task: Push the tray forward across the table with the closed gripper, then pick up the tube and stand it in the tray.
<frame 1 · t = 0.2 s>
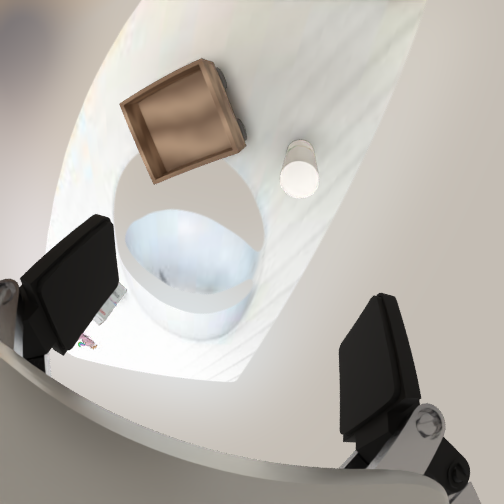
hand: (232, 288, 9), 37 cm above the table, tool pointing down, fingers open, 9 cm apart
rabbit figure: (82, 332, 86), on the table
ink box: (112, 282, 66), on the table
tube: (300, 152, 41), on the table
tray: (186, 120, 37), point 5 cm above the table, slide at 0.0 cm
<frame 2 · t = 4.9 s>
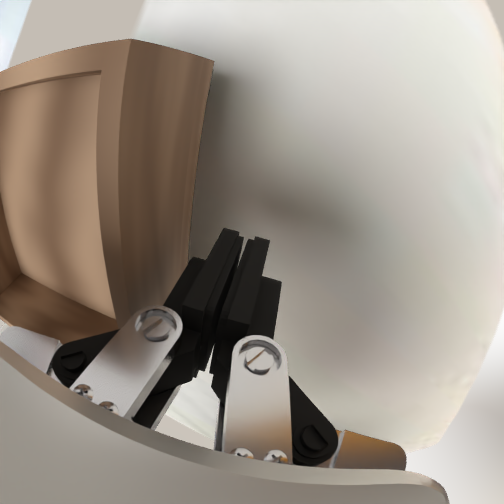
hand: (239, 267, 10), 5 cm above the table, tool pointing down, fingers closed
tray: (61, 208, 11), point 5 cm above the table, slide at 1.7 cm, touching gripper
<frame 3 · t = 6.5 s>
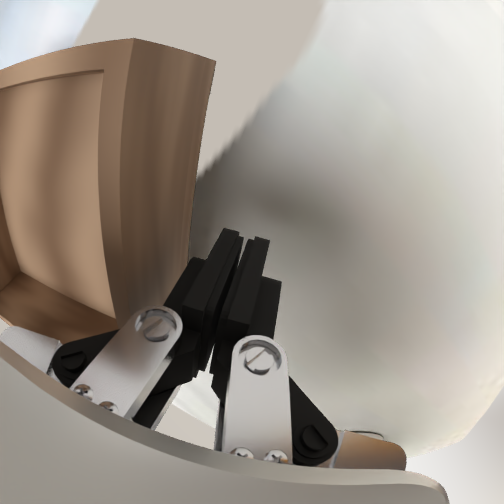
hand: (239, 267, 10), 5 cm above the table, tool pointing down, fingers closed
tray: (61, 206, 11), point 5 cm above the table, slide at 10.9 cm, touching gripper
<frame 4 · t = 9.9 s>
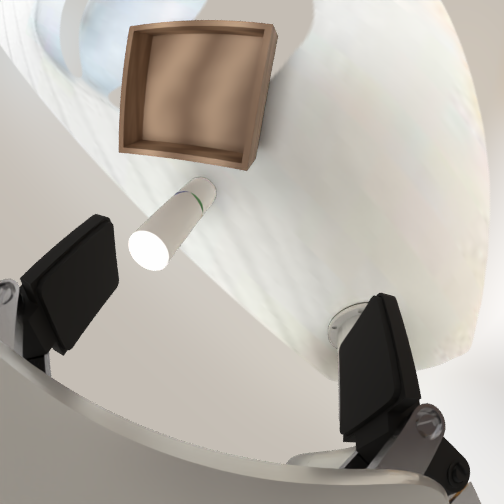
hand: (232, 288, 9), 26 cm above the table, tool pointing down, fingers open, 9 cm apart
tube: (201, 191, 36), on the table
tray: (199, 88, 24), point 5 cm above the table, slide at 11.0 cm
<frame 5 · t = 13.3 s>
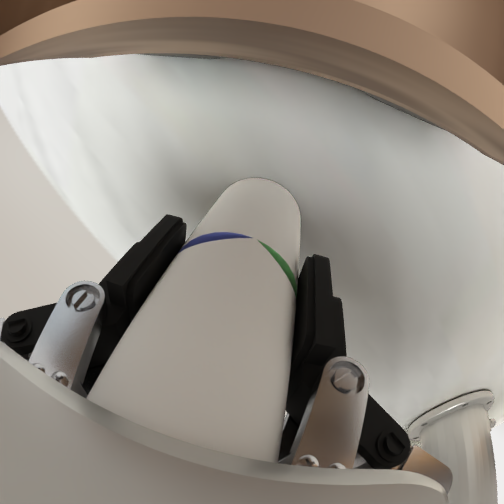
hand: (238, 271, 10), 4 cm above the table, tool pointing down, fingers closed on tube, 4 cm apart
tube: (257, 217, 14), on the table, touching gripper
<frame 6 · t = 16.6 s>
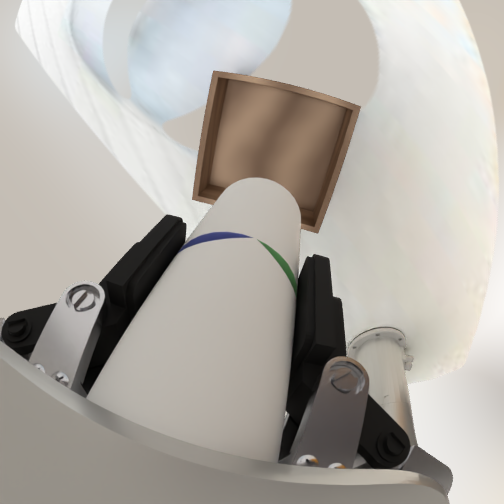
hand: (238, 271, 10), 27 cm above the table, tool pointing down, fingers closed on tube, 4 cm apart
tube: (257, 217, 14), point 23 cm above the table, touching gripper
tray: (274, 144, 28), point 5 cm above the table, slide at 11.0 cm
when the fingers open (10 cm above the table, at t = 20.1 s): tube stays where it is, resting on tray.
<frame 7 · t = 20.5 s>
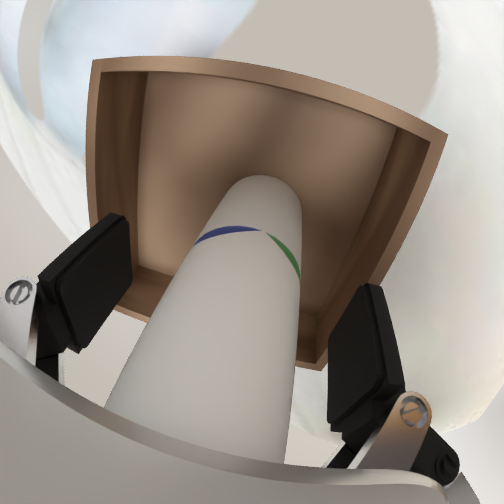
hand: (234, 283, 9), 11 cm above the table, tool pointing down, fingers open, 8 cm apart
tube: (262, 211, 15), point 5 cm above the table, touching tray
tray: (243, 202, 15), point 5 cm above the table, slide at 11.0 cm, touching tube
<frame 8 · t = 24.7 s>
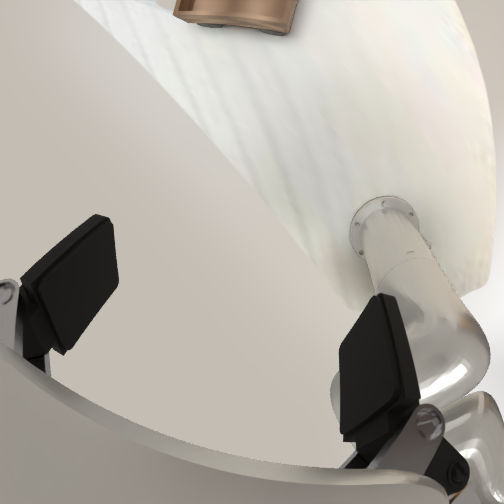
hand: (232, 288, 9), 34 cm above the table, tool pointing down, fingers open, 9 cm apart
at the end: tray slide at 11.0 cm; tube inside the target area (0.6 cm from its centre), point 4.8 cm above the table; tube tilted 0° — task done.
